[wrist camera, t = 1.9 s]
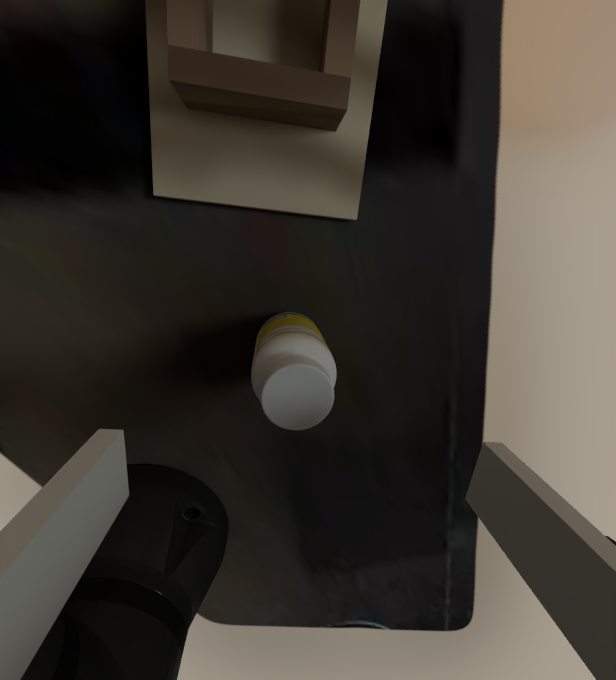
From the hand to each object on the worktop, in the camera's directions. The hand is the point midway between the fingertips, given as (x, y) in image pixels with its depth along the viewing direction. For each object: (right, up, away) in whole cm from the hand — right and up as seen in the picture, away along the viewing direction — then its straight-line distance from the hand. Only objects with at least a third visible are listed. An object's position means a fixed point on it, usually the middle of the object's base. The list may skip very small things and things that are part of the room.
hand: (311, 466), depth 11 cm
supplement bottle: (-2, +5, +14) cm, 15 cm away
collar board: (-3, +24, +8) cm, 25 cm away
